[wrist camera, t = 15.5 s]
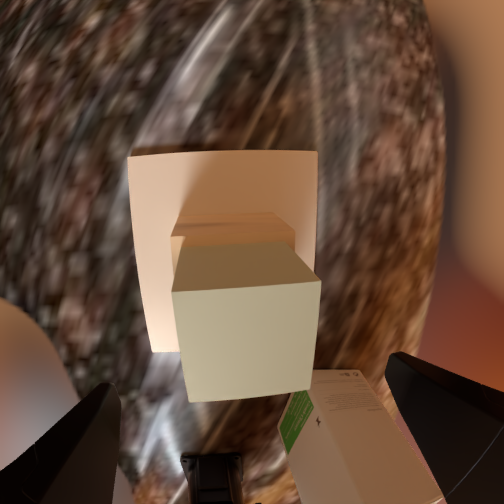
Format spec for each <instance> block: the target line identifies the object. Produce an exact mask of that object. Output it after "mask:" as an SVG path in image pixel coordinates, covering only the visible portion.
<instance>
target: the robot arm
mask: <svg viewBox="0 0 504 504" xmlns="http://www.w3.org/2000/svg"><path fill="white" fill-rule="evenodd" d="M385 378H386V381H387V383H388V385H389V388H390V390H391V393H392V395H393V397H394V400H395V402H396V405H397V407H398V409H399V411H400V413H401V415H402V417H403V419H404V421H405V423H406V424H407V426H408V428H409V430H410V432H411V434H412V435H413V437H414V439H415V441H416V443H417V445H418V447H419V448H420V450H421V452H422V454H423V456H424V458H425V460H426V462H427V464H428V466H429V468H430V470H431V472H432V474H433V476H434V478H435V480H436V482H437V483H438V486H439V488H440V490H441V492H442V494H443V496H444V497H445V500H446V502H447V504H504V392H502V391H499V390H496V389H493V388H491V387H488V386H485V385H483V384H482V385H481V384H480V383H478V382H475V381H472V380H470V379H467V378H465V377H462V376H460V375H458V374H455V373H453V372H450V371H448V370H445V369H443V368H440V367H438V366H435V365H433V364H431V363H428V362H426V361H423V360H421V359H419V358H416V357H414V356H411V355H409V354H407V353H404V352H402V351H399V352H395V353H392V354H391V355H390V356H389V359H388V362H387V366H386V369H385ZM120 425H121V401H120V398H119V396H118V393H117V390H116V387H115V385H114V384H113V383H106V382H102V383H100V384H99V385H98V386H96V387H95V388H94V389H93V390H92V391H91V392H90V393H89V394H88V395H87V396H85V397H84V398H83V399H82V400H81V401H80V402H79V403H78V404H77V405H76V406H74V407H73V408H72V409H71V410H70V411H69V412H68V413H67V414H66V415H65V416H64V417H62V418H61V419H60V420H59V421H58V422H57V423H56V424H55V425H54V426H52V427H51V428H50V429H49V430H48V431H47V432H46V433H45V434H44V435H43V436H42V437H40V438H39V440H37V441H36V442H35V445H34V444H33V445H32V446H31V447H29V448H28V449H27V450H26V451H25V452H24V453H23V454H21V455H20V456H19V457H18V458H17V459H16V460H14V461H13V462H12V463H10V464H9V465H8V466H6V467H5V468H4V469H2V470H1V471H0V504H112V499H113V490H114V483H115V475H116V468H117V461H118V455H119V446H120ZM180 462H181V465H182V468H183V470H184V473H185V476H186V479H187V481H188V493H189V504H244V498H243V493H242V487H241V482H242V481H243V475H242V461H241V455H240V454H239V453H232V454H220V455H204V456H182V457H181V458H180ZM255 504H261V503H255Z"/></svg>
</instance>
